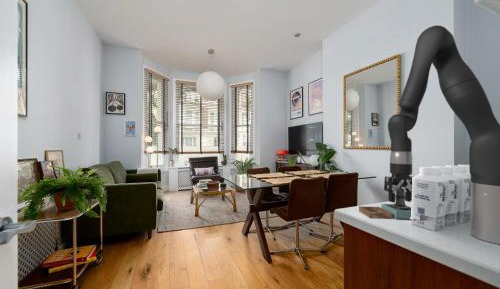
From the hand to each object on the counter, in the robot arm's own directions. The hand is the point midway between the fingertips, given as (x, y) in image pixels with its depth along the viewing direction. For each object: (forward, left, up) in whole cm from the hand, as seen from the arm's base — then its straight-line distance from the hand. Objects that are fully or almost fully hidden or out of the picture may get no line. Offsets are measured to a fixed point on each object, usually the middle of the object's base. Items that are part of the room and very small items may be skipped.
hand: (400, 201), depth 86 cm
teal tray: (0, 0, -6) cm, 6 cm away
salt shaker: (0, 0, -6) cm, 6 cm away
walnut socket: (+10, -1, -6) cm, 12 cm away
